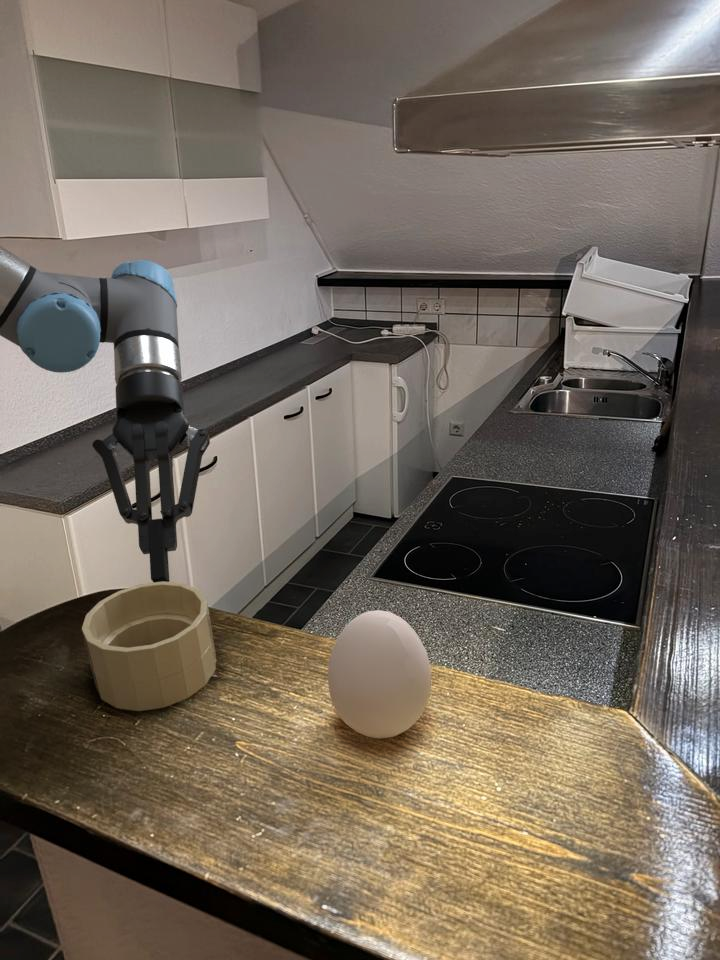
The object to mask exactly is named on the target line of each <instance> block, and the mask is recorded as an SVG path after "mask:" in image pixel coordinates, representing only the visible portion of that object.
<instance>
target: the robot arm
mask: <svg viewBox="0 0 720 960" xmlns="http://www.w3.org/2000/svg"><path fill="white" fill-rule="evenodd" d="M177 308H178V302H177V299H176V292H175V286H174V281H173V278H172V276H171V274H170V273H169V271H168V270H167V269H165V268H164V267H163V266H162V265H160V264H158V263H156V262H153V261H150V260H145V259H135V260H134V261H133V262H130V261H125V262H122V263H120V264H119V265H117V266H116V267H115V268H114V269H113V271H112V273H111V277H105V278H104V277H92V276H83V275H82V276H81V275H75V274H74V275H73V274H65V273H58V272H57V273H56V272H49V271H41V270H39V269H37V268H36V267H34V266H32V265H31V264H30V263H28V262H27V261H25V260H24V259H22V258H21V257H19V256H18V255H16V254H14V253H13V252H12V251H10V250H8V249H7V248H6V247H4V246H2V245H0V337H2V338H4V339H5V340H7V341H9V342H11V343H12V344H15V345H16V346H17V347H19V348H20V349H21V351H22V353H23V354H24V355H25V356H27V358H28V359H29V360H30V361H31V362H32V363H33V364H34V365H36V366H37V367H39V368H41V369H43V370H46V371H49V372H52V373H59V374H61V373H62V374H63V373H70V372H71V373H72V372H75V371H77V370H80V369H82V368H84V367H85V366H86V365H87V364H89V363H90V362H92V360H93V358H94V357H96V354H97V352H98V350H99V346H100V343H103V344H105V343H110V344H113V359H114V361H113V362H114V364H113V365H114V382H115V384H116V385H115V410H116V413H115V414H116V419H115V423H114V424H113V426H112V430H111V431H112V433H111V434H110V435H108V436H107V437H105V438H104V439H103V440H102V439H99V438H98V439H95V440H93V442H92V444H91V445H92V448H93V449H94V451H95V453H96V454H97V456H98V457H99V459H101V461H102V463H103V465H104V469H105V472H106V474H107V477H108V481H109V484H110V488H111V490H112V494H113V497H114V500H115V503H116V506H117V509H118V513H119V515H120V516H121V518H122V519H123V521H124V523H126V524H128V525H130V524H134V525H137V534H138V535H137V536H138V548H139V549H140V551H141V553H142V554H143V555H149V569H150V570H149V571H150V581H152V583H154V582H163V581H165V582H171V581H170V568H169V566H170V565H169V552H175V551H177V548H178V535H177V523H178V521H179V520H181V519H183V518H189V517H190V516H191V515H192V513H193V509H194V504H195V497H196V493H197V488H198V481H199V475H200V471H201V466H202V459H203V456H204V454H205V452H206V451H207V449H208V448H209V446H210V444H211V440H210V436H209V434H208V431H207V429H205V428H199V429H197V428H195V427H193V426H191V425H190V423H189V420H188V419H187V417H186V415H185V409H184V408H185V405H184V393H183V391H184V390H183V385H182V377H183V376H182V366H181V353H180V343H179V327H178V325H179V324H178V312H177ZM186 438H187V439H186ZM185 440H186V443H187V446H188V448H187V453H186V459H185V464H184V469H183V476H182V480H181V485H180V490H179V496H178V501H177V503H176V498H175V497H176V495H175V483H174V470H173V467H174V460H173V456H174V455H175V454H176V452H177V451H178V449H180V447H181V446H182V444H183V442H184V441H185ZM118 445H120V446H121V447H122V448H123V449H124V451H126V453H128V455H129V456H130V457H131V458H132V459H133V465H134V484H135V485H134V487H135V508H133V505H132V502H131V499H130V496H129V492H128V489H127V486H126V484H125V481H124V477H123V474H122V470H121V467H120V465H119V463H118V461H117V459H116V457H117V456H118V455H119V450H118ZM154 460H157V466H158V483H159V484H158V485H159V498H160V511H159V512H160V515H161V518H154V519H153V512H152V510H153V507H152V491H151V490H152V489H151V472H150V471H151V461H154Z"/></svg>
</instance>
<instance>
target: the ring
mask: <svg viewBox="0 0 720 960" xmlns="http://www.w3.org/2000/svg"><path fill="white" fill-rule="evenodd" d="M81 632H82V636H83V640H84V645H85V648H86V653H87V657H88V661H89V665H90V670H91V674H92V678H93V682H94V685H95V688H96V691H97V692H98V695H99V697H100V699H101V700H102V701H104V702H105V703H107V704H109V705H110V706H112V707H114V708H116V709H119V710H127V711H135V712H142V711H144V712H145V711H150V710H156V709H157V710H158V709H164V708H166V707H169V706H173V705H174V704H177V703H180V702H182V701H184V700H186V699H188V698H190V697H191V696H193V695H194V694H195V693H197V692H199V691H200V690H201V689H202V688H203V687H205V686H206V685H207V684H208V682H209V681H210V679H211V677H212V676H213V675H214V673H215V671H216V668H217V653H216V646H215V640H214V635H213V633H214V632H213V629H212V621H211V616H210V608H209V602H208V599H207V598H206V597H205V595H204V594H203V593H202V591H201V590H200V589H198V588H196V587H194V586H191V585H189V584H187V583H183V582H175V581H170V582H165V581H163V582H147V583H140V584H137V585H134V586H131V587H126V588H124V589H121V590H118V591H116V592H114V593H112V594H110V595H109V596H107V597H105V598H104V599H102V600H99V601H98V602H97V603H96V604H95V605H94V606H93V607H92V608H91V609H90V610H89V611H88V612H87V613H86V614H85V617H84V620H83V623H82V626H81Z"/></svg>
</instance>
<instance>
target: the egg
mask: <svg viewBox="0 0 720 960" xmlns="http://www.w3.org/2000/svg"><path fill="white" fill-rule="evenodd" d="M327 684H328V692H329V696H330V699H331V703H332V705H333V708H334V710H335V711H336V713H337V714H338V716H339V717H340V719H341V720H342V721H343V722H344V723H345V724H346V725H347V726H349V728H351V729H352V730H353V731H355V732H356V733H358V734H360V735H363V736H365V737H368V738H372V739H378V740H380V739H387V738H394V737H397V736H398V735H400V734H403V733H405V732H406V731H407V730H409V729H411V728H412V726H414V725H415V724H416V722H417V721H418V720H419V719H420V718H421V716H422V715H423V713H424V711H425V709H426V707H427V705H428V703H429V700H430V696H431V690H432V668H431V664H430V660H429V655H428V652H427V650H426V648H425V646H424V644H423V642H422V640H421V638H420V637H419V635H418V634H417V632H416V631H415V629H414V628H413V627H412V626H411V625H410V624H409V623H408V622H407V620H405V619H403V617H402V618H401V617H400V616H399V615H397V614H395V613H392V612H391V611H387V610H381V609H376V610H368V611H365V612H362V613H361V614H359V615H357V616H356V617H354V618H352V619H351V620H350V621H349V622H348V623H347V624H346V625H345V626H344V628H343V629H342V631H341V632H340V633H339V635H338V636H337V638H336V641H335V642H334V645H333V648H332V650H331V652H330V656H329V660H328V668H327Z"/></svg>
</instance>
